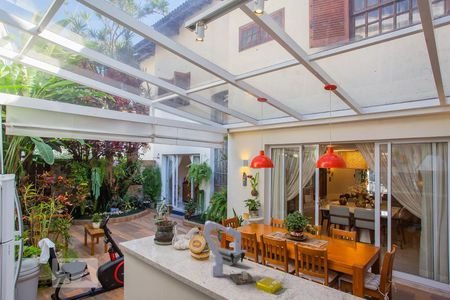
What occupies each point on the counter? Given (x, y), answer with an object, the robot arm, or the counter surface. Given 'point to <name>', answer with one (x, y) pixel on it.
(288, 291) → the counter surface
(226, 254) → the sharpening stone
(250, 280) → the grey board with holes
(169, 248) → the counter surface
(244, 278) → the steel peg
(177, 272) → the counter surface
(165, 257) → the counter surface
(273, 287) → the element tile
